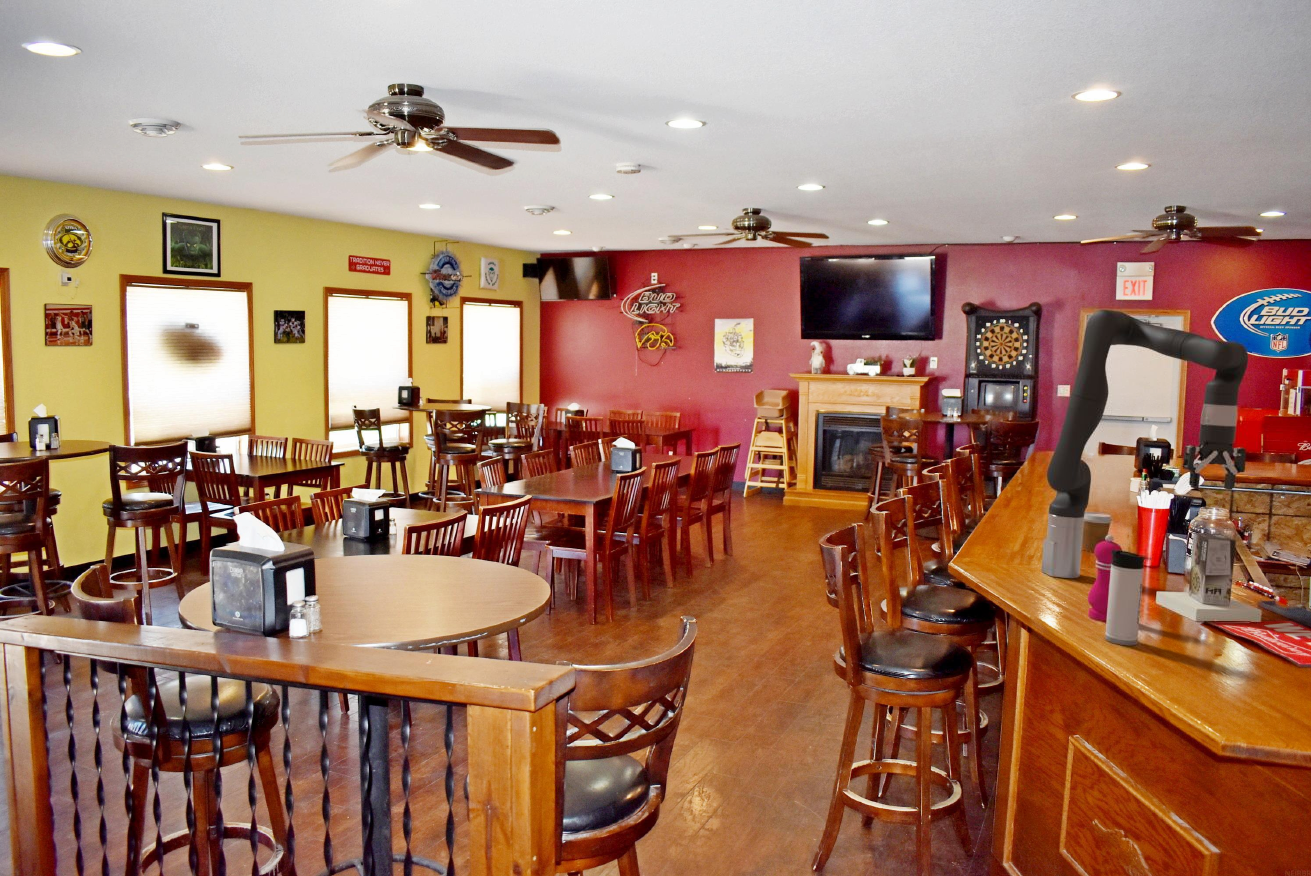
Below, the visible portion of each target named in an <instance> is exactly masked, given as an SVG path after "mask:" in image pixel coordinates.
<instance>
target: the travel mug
mask: <svg viewBox="0 0 1311 876" xmlns="http://www.w3.org/2000/svg"><path fill="white" fill-rule="evenodd" d="M1111 553H1112V564H1111V573H1110V585H1109V597H1108V609H1107V622H1106V624H1105V635H1104V637H1105V640H1106V641H1107V642H1109V643H1111V644H1115V645H1120V646H1128V647H1130V646H1135V645H1137V644H1138V641H1139V640H1138V639H1139V637H1138V636H1139V627H1140V618H1141V617H1140V616H1141V607H1142V606H1141V604H1142V593H1143V592H1142V591H1143V582H1144V570H1145V567H1144V564H1145V556H1144V555H1142V556H1141V555H1139V554H1138V553H1135V552H1130V551H1125V550H1122V551H1120V550H1112V551H1111Z"/></svg>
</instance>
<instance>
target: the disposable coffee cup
mask: <svg viewBox="0 0 1311 876" xmlns="http://www.w3.org/2000/svg"><path fill="white" fill-rule="evenodd" d="M1112 521H1113V519H1112V515H1110V514H1107V513H1103V512H1095V511H1094V512H1092V511H1085V513H1084V526H1083V538H1082V551H1084V550H1086V551H1085V552H1087V551H1091V552H1090V553H1093V552H1094V550H1095V547H1096V545H1097V544H1098V543H1100V542H1103V541H1106V540H1105V538H1106V536H1107V535H1109V531H1110V527H1111V526H1110V525H1111V523H1112Z"/></svg>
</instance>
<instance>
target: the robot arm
mask: <svg viewBox="0 0 1311 876" xmlns="http://www.w3.org/2000/svg"><path fill="white" fill-rule="evenodd" d="M1084 330H1085V331H1084V335H1083V343H1082V349H1081V354H1080V359H1079V360H1080V361H1079V363H1078V366H1077V367H1078V368H1077V372H1076V376H1075V379H1074V382H1073V383H1074V384H1073V386H1072V390H1071V393H1070V397H1069V401H1068V404H1067V407H1066V413H1065V415H1064V420H1063V424H1062V426H1061V431H1060V434H1059V437H1058V442H1057V443H1056V447H1055V449H1054V452H1053V454H1052V457H1051V460H1050V462H1049V465H1048V467H1047V470H1046V480H1047V482H1048V485H1049V487H1050V488H1051V489H1052V490H1054V491H1056V495H1055V497H1054V499H1053V500H1052V501H1051V502H1050V504H1049V507H1048V516H1047V517H1048V518H1047V530H1046V531H1047V534H1046V538H1044V539H1043V546H1042V556H1041V557H1042V558H1041V560H1042V561H1041V569H1040V570H1041V572H1042V573H1043V574H1045V575H1048V576H1050V577H1056V578H1065V579H1077V578H1079V577H1080V573H1081V563H1082V562H1081V559H1082V551H1083V547H1082V538H1083V526H1084V513H1085V512H1086V509H1087V507H1088V505H1089V499H1090V493H1091V483H1092V474H1091V473H1092V472H1091V469H1090V466H1089V465H1088V464H1087V462H1086V461H1084V460H1083V459H1082V456H1083V453H1084V449H1085V448H1086V447H1085V446H1086V445H1087V442H1088V441H1089V440H1090V438H1091V437H1092V435H1094V432H1095V430H1096V429H1097V428H1098V426H1099V424H1100V423H1101V420H1102V419H1103V416H1104V413H1105V409H1106V405H1107V402H1108V398H1109V385H1108V378H1107V371H1106V369H1107V367H1106V365H1107V359H1108V356H1109V351H1110V349H1111V346H1117V345H1119V346H1120V345H1121V346H1132V347H1134V346H1135V347H1141V348H1145V349H1148V350H1151V351H1154V352H1156V353H1159V354H1161V355H1163V356H1166V357H1170V358H1172V359H1173V358H1174V359H1176V360H1181V361H1185V362H1191V363H1193V364H1197V365H1199V366H1201V367H1204V368H1207V369H1210V370H1214V371H1215V374H1214V376H1213V377H1214V378H1213V379H1212V380H1210V381H1208V382H1207V383H1206V386H1205V389H1204V390H1205V391H1204V399H1203V406H1202V411H1201V416H1200V426H1199V436H1198V440H1199V443H1198V446H1194V445H1189V444H1187V445H1185V448H1184V454H1183V458H1182V459H1183V460H1182V465H1181V466H1182V469H1183V470H1186V471H1188V472H1189V479H1188V483H1189V486H1190V488H1191V489H1199V487H1200V481H1201V473H1200V472H1201V471H1202V470H1203V469H1204V468H1205V467H1207V466H1208V465H1219V466H1221V467H1223V469H1224V470H1225V472H1226V473H1225V475H1224V485H1223V486H1224V487H1223V488H1224V490H1229V491H1230V490H1231V491H1232V490H1233V488H1235V485H1236V476H1237V475H1238V474H1240V473H1244V472H1245V471H1246V457H1247V450H1246V448H1244V447H1234V446H1233V445H1234V443H1235V440H1236V432H1237V422H1238V405H1239V403H1238V402H1239V392H1240V391H1239V390H1240V386H1241V385H1242V382H1243V379H1244V376H1245V374H1246V371H1247V368H1248V365H1249V364H1248V363H1249V354H1248V353H1249V352H1248V350H1247V348H1246V347H1245V345H1243V343H1240V342H1236V341H1225V340H1219V339H1212V338H1208V337H1204V336H1203V335H1200V334H1198V333H1194V332H1189V331H1186V330H1182V329H1176V328H1169V327H1164V326H1158V325H1155V324H1151V323H1148V322H1145V321H1142V320H1141V319H1138V318H1136V317H1133V316H1131V315H1129V314H1127V313H1125V312H1122V311H1118V310H1113V309H1112V310H1111V309H1099V310H1097V311H1095V312H1094V313H1092V314H1091V315H1090V317H1089V318H1088V320H1087V322H1086V327H1085V329H1084ZM1197 454H1198V456H1197V457H1196V455H1197ZM1232 456H1233V457H1234V458H1233V459H1231V457H1232ZM1195 458H1196V459H1195Z"/></svg>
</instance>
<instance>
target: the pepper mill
mask: <svg viewBox="0 0 1311 876" xmlns="http://www.w3.org/2000/svg"><path fill="white" fill-rule="evenodd" d="M1114 539H1115V538H1114V536H1113V535H1111V534H1108V535H1107V536H1106V538H1105V540H1106V541H1103V542H1100V543H1098V544H1097V545H1096V547H1095V550H1094V556H1095V558H1097V559H1096V561H1095V567H1096V569H1097V573H1096V579H1095V581H1094V584H1093V585H1092V587H1091V588H1090V589H1089V593H1088V595H1087V602H1088V603H1089V605H1090V606H1091V608H1089V609H1088V617H1089V618H1090V619H1092V620H1095V621H1098V622H1099V621H1100V622H1107V609H1108V597H1109V585H1110V573H1111V564H1112V553H1111V551H1112V550H1120V551H1123V548H1122V547H1121V545H1120V544H1118V543H1117V542H1115V541H1114Z"/></svg>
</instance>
